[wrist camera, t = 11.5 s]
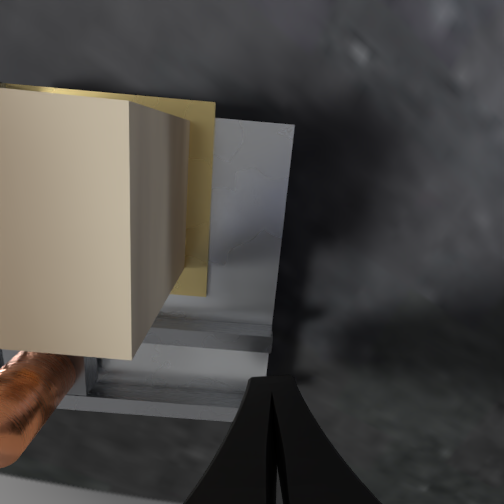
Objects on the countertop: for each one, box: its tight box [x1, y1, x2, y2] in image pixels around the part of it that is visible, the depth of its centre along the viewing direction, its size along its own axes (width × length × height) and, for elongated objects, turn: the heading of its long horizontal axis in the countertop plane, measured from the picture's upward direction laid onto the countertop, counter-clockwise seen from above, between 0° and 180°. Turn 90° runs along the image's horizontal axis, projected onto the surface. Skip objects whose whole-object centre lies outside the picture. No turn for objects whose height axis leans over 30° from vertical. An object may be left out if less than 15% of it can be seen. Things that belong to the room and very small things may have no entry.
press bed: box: [0, 82, 295, 422], centre depth 11 cm, size 12×10×2 cm
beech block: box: [0, 88, 190, 361], centre depth 8 cm, size 4×4×5 cm
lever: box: [0, 349, 98, 468], centre depth 11 cm, size 3×2×4 cm
